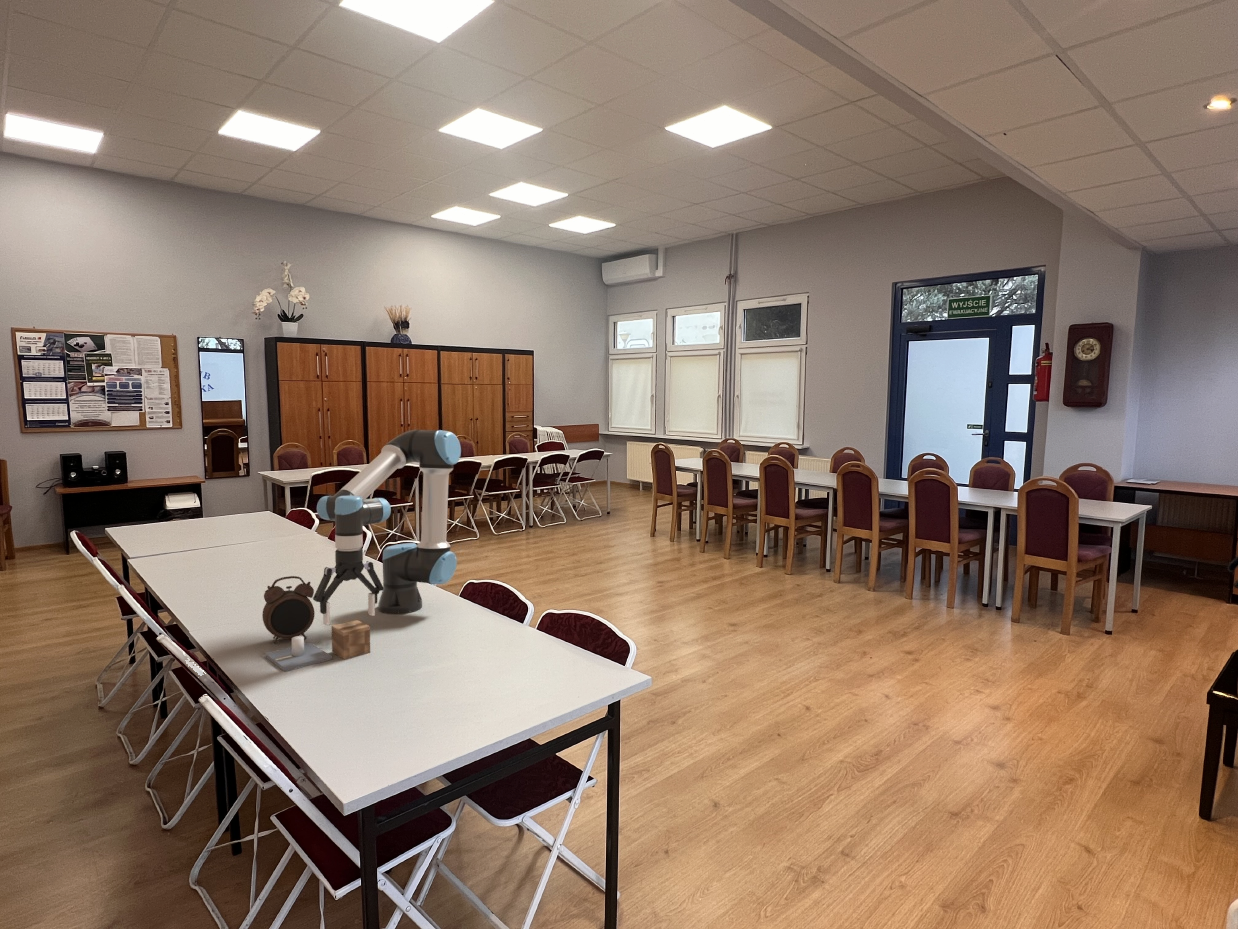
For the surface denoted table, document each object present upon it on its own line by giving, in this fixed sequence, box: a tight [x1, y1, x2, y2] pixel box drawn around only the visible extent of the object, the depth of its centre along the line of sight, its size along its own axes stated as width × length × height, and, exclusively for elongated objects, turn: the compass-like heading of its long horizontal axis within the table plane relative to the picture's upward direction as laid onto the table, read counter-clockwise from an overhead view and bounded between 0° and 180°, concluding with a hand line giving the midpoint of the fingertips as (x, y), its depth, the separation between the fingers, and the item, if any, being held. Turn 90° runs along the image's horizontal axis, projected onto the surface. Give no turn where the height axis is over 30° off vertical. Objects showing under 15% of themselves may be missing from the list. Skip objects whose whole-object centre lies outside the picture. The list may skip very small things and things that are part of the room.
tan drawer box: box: [331, 619, 371, 660], centre depth 202 cm, size 8×8×8 cm
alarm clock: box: [262, 575, 315, 644], centre depth 211 cm, size 14×7×20 cm, turn 126°
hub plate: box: [264, 635, 333, 672], centre depth 197 cm, size 13×15×6 cm
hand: (349, 619), depth 201 cm, fingers open, 13 cm apart
